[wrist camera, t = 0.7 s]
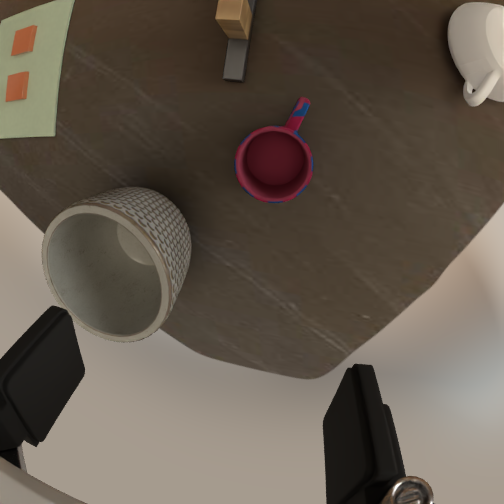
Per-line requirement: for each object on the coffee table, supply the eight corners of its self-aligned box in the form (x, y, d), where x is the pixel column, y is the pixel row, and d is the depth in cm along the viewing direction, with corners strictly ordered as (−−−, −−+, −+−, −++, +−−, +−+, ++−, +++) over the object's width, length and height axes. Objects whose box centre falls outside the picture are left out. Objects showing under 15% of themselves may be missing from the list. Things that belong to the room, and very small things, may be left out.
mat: (2, 21, 25) (1, 20, 25) (76, -5, 25) (74, -6, 25) (-12, 139, 33) (-14, 139, 33) (55, 135, 33) (53, 136, 33)
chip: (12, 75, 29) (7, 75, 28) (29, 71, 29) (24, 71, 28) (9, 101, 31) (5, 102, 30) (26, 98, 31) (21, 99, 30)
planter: (170, 300, 41) (133, 365, 29) (88, 239, 38) (29, 285, 26) (230, 219, 36) (203, 272, 24) (133, 150, 33) (66, 170, 21)
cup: (232, 166, 33) (220, 177, 27) (281, 88, 29) (281, 79, 23) (285, 199, 34) (285, 217, 28) (336, 123, 30) (349, 123, 24)
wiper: (241, -15, 25) (228, -50, 17) (259, -14, 25) (252, -49, 17) (225, 81, 30) (206, 68, 22) (244, 82, 29) (231, 69, 22)
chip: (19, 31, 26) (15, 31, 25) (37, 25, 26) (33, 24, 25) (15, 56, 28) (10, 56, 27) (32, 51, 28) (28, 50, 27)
